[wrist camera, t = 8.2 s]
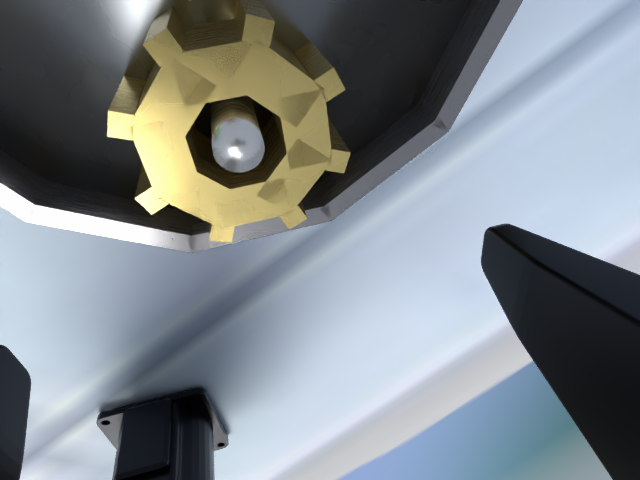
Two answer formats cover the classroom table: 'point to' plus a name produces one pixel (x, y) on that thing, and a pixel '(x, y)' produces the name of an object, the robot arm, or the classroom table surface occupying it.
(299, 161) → the planet gear
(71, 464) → the classroom table surface
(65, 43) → the tray
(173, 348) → the classroom table surface
